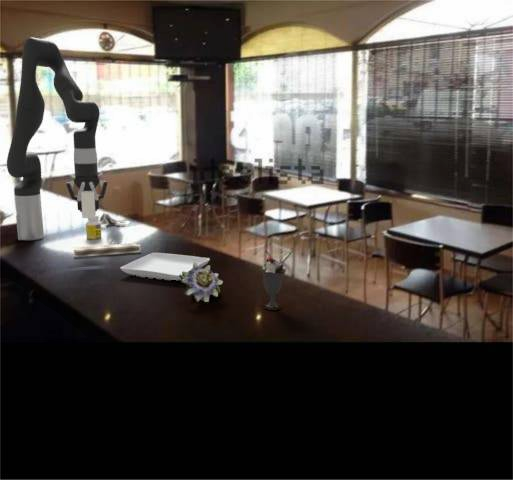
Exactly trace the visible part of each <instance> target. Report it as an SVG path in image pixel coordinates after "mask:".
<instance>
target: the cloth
mask: <svg viewBox="0 0 513 480" xmlns="http://www.w3.org/2000/svg"><path fill="white" fill-rule="evenodd" d="M98 221H100V222H101V228H102V229H101V230H107V229H106V227H107V228H108V227H110V226H113V225H114V227H120V226H125V227H126V226H127V228H128V226H129V227H130V224H131V222H130V221H128V220H117V219H114V218H113V217H112V216H111V215H110V214H109V213H108V212H106V211H104V212H103V213H102V214H101V216H100V217H99V219H98ZM84 225H86V222H85V223H84V224H83V226H84ZM125 227H124V228H125ZM104 228H105V229H104Z"/></svg>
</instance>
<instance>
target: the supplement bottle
mask: <svg viewBox="0 0 513 480" xmlns="http://www.w3.org/2000/svg"><path fill="white" fill-rule="evenodd" d="M98 220H100V217H99V214H96V215H95V218H87V221H86V222H85V223H86V226H85V227H86V239H87V240H90V241H91V240H92V241H96V240H100V239H102V229H101V222H100V221H98Z"/></svg>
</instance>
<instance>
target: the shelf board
mask: <svg viewBox="0 0 513 480" xmlns="http://www.w3.org/2000/svg"><path fill="white" fill-rule="evenodd" d="M141 251H142V250H141V244H137V243H136V242H133V243H132V242H131V243H120V244H119V243H118V244H116V243H115V244H105V245H103V244H102V245H91V246H90V245H89V246H77V247H73V256H74V258H83V257H85V258H86V257H97V256H98V257H99V256H108V255H121V254H134V253H135V254H138V253H142V252H141Z"/></svg>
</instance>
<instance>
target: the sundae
mask: <svg viewBox="0 0 513 480" xmlns="http://www.w3.org/2000/svg"><path fill="white" fill-rule="evenodd" d="M264 252H265V253H267V255H268V258H266V260H265V263H264V264H263V266H262V268H259V273H261V275H262V278H263V286H264V289H265V292H266V293H267V294H268V295H269V296H270V297H269V298H270V301H269V303H267V304H268V305H266V304H265V305H266V306H267V307H269V308H270V307H271V308H273V307H278V305H277V304H278V303H276V295H277V294H279V293H280V292H281V289H282V284H283V277H284V275H285V273H286V271H287V270H286V268H284V264H283V263H282V264H281V263H280V262H279V261H278V260H277V259H274V258H273V257H271V255H270V252H268V250H264ZM280 264H281V265H280Z"/></svg>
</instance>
